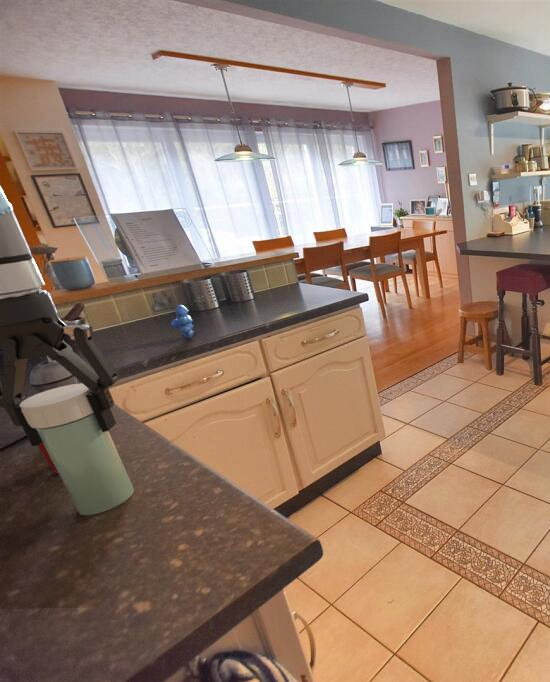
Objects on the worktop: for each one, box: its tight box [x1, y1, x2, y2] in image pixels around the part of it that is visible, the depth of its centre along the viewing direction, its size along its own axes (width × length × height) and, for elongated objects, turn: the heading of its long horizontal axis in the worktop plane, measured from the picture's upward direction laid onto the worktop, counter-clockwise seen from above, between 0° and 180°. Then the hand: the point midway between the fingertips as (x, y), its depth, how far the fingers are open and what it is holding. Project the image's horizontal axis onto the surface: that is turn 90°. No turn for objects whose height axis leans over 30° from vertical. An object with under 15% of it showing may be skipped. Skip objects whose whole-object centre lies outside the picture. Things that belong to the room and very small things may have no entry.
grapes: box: [169, 304, 195, 340], centre depth 157 cm, size 12×7×12 cm, turn 32°
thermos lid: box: [20, 382, 94, 428], centre depth 67 cm, size 8×8×4 cm
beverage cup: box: [29, 356, 78, 394], centre depth 96 cm, size 7×7×20 cm
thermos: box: [36, 412, 135, 516], centre depth 70 cm, size 7×7×19 cm
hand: (75, 434), depth 69 cm, fingers closed on thermos lid, 8 cm apart
